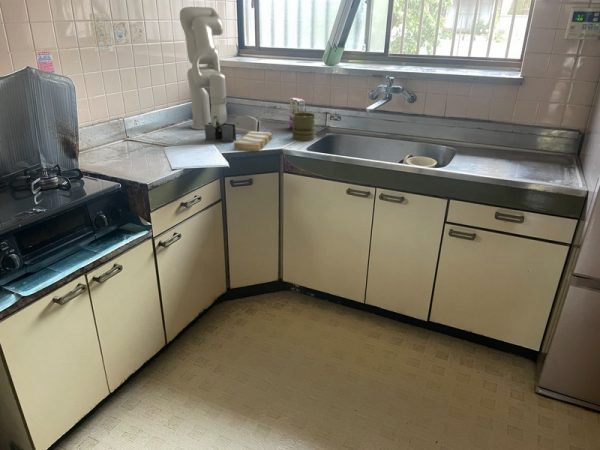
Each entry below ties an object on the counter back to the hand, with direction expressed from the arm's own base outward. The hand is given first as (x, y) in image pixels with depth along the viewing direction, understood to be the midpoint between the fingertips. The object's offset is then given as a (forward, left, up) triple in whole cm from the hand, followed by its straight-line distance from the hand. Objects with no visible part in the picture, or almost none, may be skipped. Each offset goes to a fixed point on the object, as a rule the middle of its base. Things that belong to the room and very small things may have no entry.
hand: (220, 137), depth 221 cm
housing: (0, 0, -1) cm, 1 cm away
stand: (+2, +18, -1) cm, 18 cm away
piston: (-15, +39, -2) cm, 42 cm away
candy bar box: (-33, +32, -2) cm, 46 cm away
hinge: (-19, +7, -2) cm, 20 cm away
